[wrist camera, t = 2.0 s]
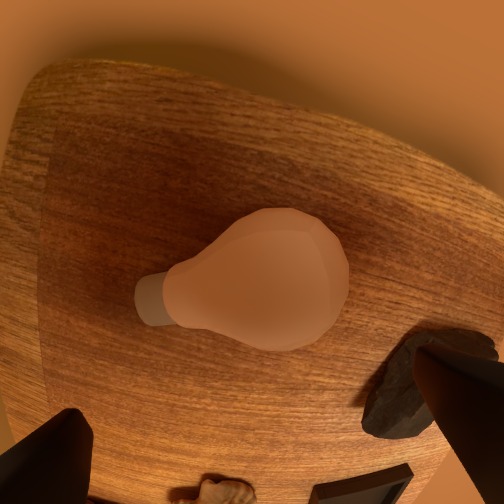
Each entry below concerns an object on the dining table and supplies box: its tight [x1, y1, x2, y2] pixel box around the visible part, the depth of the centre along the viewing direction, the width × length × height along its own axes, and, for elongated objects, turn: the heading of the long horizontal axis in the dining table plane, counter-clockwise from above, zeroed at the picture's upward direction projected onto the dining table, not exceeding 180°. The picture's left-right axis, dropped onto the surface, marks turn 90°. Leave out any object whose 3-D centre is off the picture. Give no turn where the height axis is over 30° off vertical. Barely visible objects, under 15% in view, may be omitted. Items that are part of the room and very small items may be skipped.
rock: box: [361, 329, 499, 439], centre depth 19 cm, size 10×6×10 cm
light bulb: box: [134, 208, 350, 352], centre depth 15 cm, size 7×7×11 cm
